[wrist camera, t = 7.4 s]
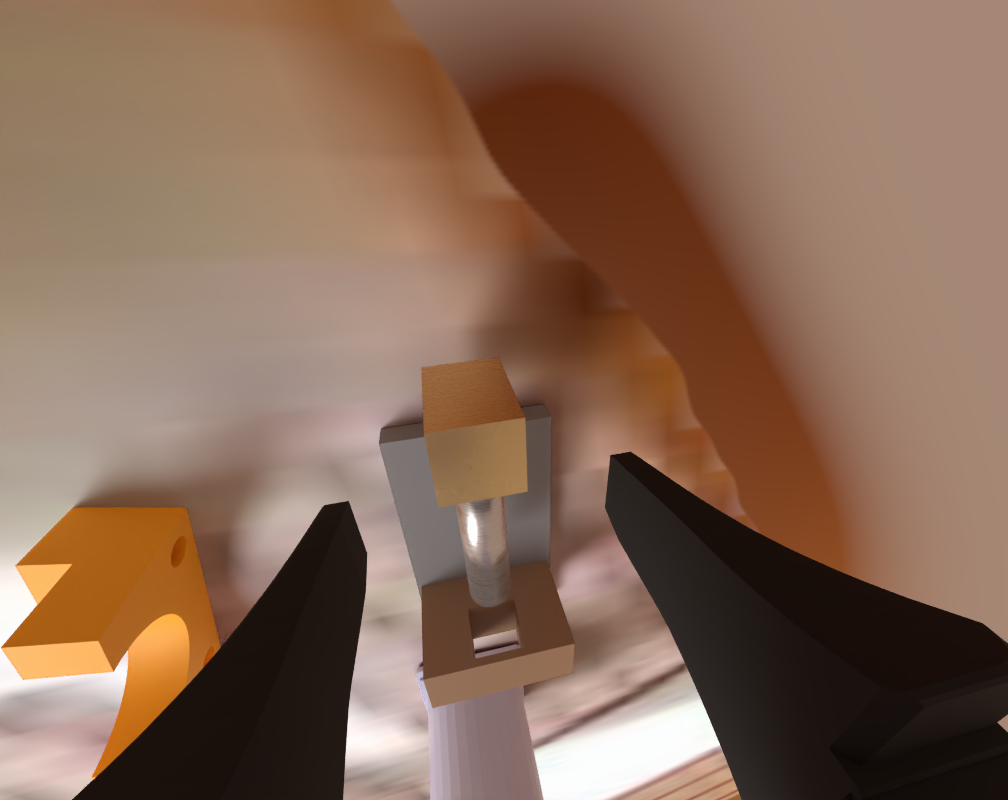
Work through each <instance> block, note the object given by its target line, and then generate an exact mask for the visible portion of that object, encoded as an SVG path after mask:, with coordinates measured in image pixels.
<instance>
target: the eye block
mask: <svg viewBox="0 0 1008 800" xmlns="http://www.w3.org/2000/svg"><path fill="white" fill-rule="evenodd" d="M521 409H522V411H523V414H524V416H525V425H526V456H527V487H528V492H523V493H517V494H512V495H506V496H504V498H505V512H506V525H507V539H508V552H509V566H510V579H511V591H510V594H509V596H508V598H507V599H506V600H505V601H504V602H503V603H501V604H500V605H497V606H494V607H484V606H481V605H479V604H477V603H476V602H475V601H474V600H473V599H472V597H471V595H470V590H469V584H468V578H467V572H466V565H465V559H464V553H463V547H462V541H461V535H460V529H459V523H458V517H457V510H456V505H451V506H446V507H440V508H438V503H437V498H436V493H435V488H434V482H433V477H432V472H431V467H430V462H429V457H428V452H427V447H426V442H425V436H424V423H417V424H410V425H404V426H397V427H391V428H384V429H381V432H380V440H379V446H380V450H381V453H382V457H383V461H384V464H385V468H386V472H387V475H388V479H389V483H390V486H391V490H392V494H393V497H394V501H395V505H396V508H397V512H398V516H399V519H400V523H401V527H402V530H403V534H404V538H405V541H406V545H407V549H408V552H409V556H410V560H411V563H412V567H413V571H414V574H415V578H416V582H417V585H418V589H419V593H420V596H421V600H422V642H423V681H424V684H425V687H426V690H427V693H428V696H429V699H430V702H431V705H432V708H436V707H440V706H444V705H448V704H452V703H456V702H460V701H464V700H468V699H472V698H476V697H480V696H484V695H488V694H492V693H496V692H500V691H504V690H508V689H512V688H516V687H520V686H524V685H528V684H532V683H536V682H540V681H544V680H548V679H551V678H555V677H559V676H563V675H567V674H571V673H573V663H574V649H575V642H574V640H573V637H572V634H571V631H570V628H569V625H568V622H567V619H566V616H565V613H564V610H563V607H562V604H561V601H560V598H559V595H558V592H557V589H556V586H555V583H554V580H553V577H552V574H551V571H550V495H551V416H550V414H549V412H548V410H547V408H546V407H545V405H544V404H542V405H535V406H529V407H522V408H521ZM514 629H516V632H517V636H518V641H519V645H520V648H518V649H514V650H510V651H505V652H501V653H497V654H493V655H488V656H484V657H480V658H476V659H475V651H474V643H473V639H475V638H479V637H484V636H488V635H493V634H497V633H501V632H506V631H510V630H514Z"/></svg>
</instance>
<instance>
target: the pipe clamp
mask: <svg viewBox="0 0 1008 800" xmlns="http://www.w3.org/2000/svg"><path fill="white" fill-rule="evenodd" d="M16 568H17V569H18V571H19V573H20V575H21V576H22V578H23V580H24V582H25V583H26V585H27V587H28V589H29V590H30V592H31V594H32V596H33V597H34V599H35V601H36V603H37V604H38V605H37V606H36V607H35V608H34V610H33V611H32V612H31V613H30V614H29V616H28V617H27V618H26V619H25V620H24V621H23V623H22V624H21V625H20V626H19V627H18V628H17V630H16V631H15V632H14V633H13V634H12V635H11V637H10V638H9V639H8V640H7V641H6V643H5V644H4V645H3V646H2V647H1V649H2V650H3V652H4V653H5V655H6V656H7V657H8V659H9V660H10V662H11V663H12V665H13V666H14V667H15V669H16V670H17V672H18V673H19V675H20V676H21V677H22V679H23V680H25V679H37V678H48V677H59V676H70V675H82V674H93V673H104V672H114V670H115V668H116V667H117V665H118V663H119V662H120V660H121V659H122V657H123V656H124V654H125V653H126V651H127V650H128V672H127V679H126V685H125V690H124V695H123V699H122V703H121V706H120V710H119V713H118V716H117V719H116V722H115V725H114V728H113V731H112V733H111V736H110V738H109V741H108V743H107V746H106V748H105V750H104V753H103V755H102V757H101V759H100V761H99V764H98V766H97V768H96V770H95V772H94V774H93V776H92V779H93V780H94V779H95V778H96V777H97V776H98V775H99V774H100V773H101V772H102V771H103V770H104V769H105V768H106V767H107V766H108V765H109V764H110V763H111V762H112V761H113V760H114V759H116V758H117V757H118V756H119V755H120V754H121V753H122V752H123V751H124V750H125V749H126V748H127V747H128V746H129V745H130V744H131V743H132V742H133V741H134V740H135V739H136V738H137V737H138V736H139V735H140V734H141V733H142V732H143V731H144V730H145V729H146V728H147V727H148V726H149V725H150V724H151V723H152V722H153V721H154V720H155V719H156V718H157V716H158V715H159V714H160V713H161V712H162V711H163V710H164V709H165V708H166V707H167V706H168V705H169V704H170V703H171V702H172V701H173V700H174V699H175V698H176V697H177V696H178V695H179V693H180V692H181V691H182V690H183V689H184V688H185V687H186V686H187V685H188V684H189V683H190V682H191V681H192V679H193V678H194V677H195V676H196V675H197V674H198V673H199V672H200V671H201V670H202V668H203V667H204V666H205V665H206V664H207V663H208V662H209V660H210V659H211V658H212V657H213V656H214V655H215V653H216V652H217V651H218V650H219V649H220V648H221V645H220V641H219V637H218V633H217V629H216V625H215V621H214V617H213V613H212V609H211V605H210V600H209V596H208V592H207V588H206V584H205V580H204V576H203V572H202V568H201V564H200V560H199V556H198V552H197V548H196V544H195V540H194V536H193V532H192V528H191V524H190V520H189V516H188V512H187V508H186V507H73V508H72V509H71V510H70V511H69V512H68V513H67V514H66V515H65V516H64V517H63V518H62V519H61V520H60V521H59V522H58V523H57V524H56V525H55V526H54V527H53V528H52V529H51V530H50V531H49V532H48V533H47V534H46V535H45V536H44V537H43V538H42V539H41V540H40V541H39V542H38V543H37V544H36V545H35V546H34V547H33V548H32V549H31V550H30V551H29V552H28V553H27V555H26V556H25V557H24V558H23V559H22V560H21V561H20V562H19V563H18V564H17V565H16Z"/></svg>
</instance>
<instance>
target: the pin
mask: <svg viewBox="0 0 1008 800" xmlns="http://www.w3.org/2000/svg"><path fill="white" fill-rule="evenodd" d="M421 372H422V398H423V423H424V436H425V442H426V447H427V452H428V457H429V462H430V467H431V472H432V477H433V482H434V488H435V493H436V498H437V503H438V508H440V507H446V506H451V505H456V510H457V517H458V523H459V529H460V535H461V541H462V547H463V553H464V559H465V565H466V572H467V578H468V584H469V590H470V595H471V597H472V599H473V600H474V601H475V602H476V603H477V604H479V605H481V606H484V607H494V606H497V605H500V604H501V603H503V602H504V601H505V600H506V599H507V598H508V596H509V594H510V591H511V579H510V566H509V552H508V539H507V525H506V512H505V498H504V496H506V495H512V494H517V493H523V492H528V487H527V456H526V425H525V416H524V414H523V411H522V409H521V407H520V405H519V402H518V400H517V398H516V396H515V393H514V391H513V389H512V387H511V384H510V382H509V380H508V378H507V375H506V373H505V371H504V368H503V366H502V364H501V362H500V359H499V357H497V358H490V359H482V360H475V361H467V362H460V363H452V364H445V365H437V366H430V367H422V368H421Z"/></svg>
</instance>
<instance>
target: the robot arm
mask: <svg viewBox="0 0 1008 800" xmlns="http://www.w3.org/2000/svg"><path fill="white" fill-rule="evenodd" d="M605 508H606V511H607V513H608V516H609V518H610V521H611V523H612V525H613V528H614V530H615V532H616V535H617V537H618V539H619V541H620V543H621V545H622V546H623V548H624V550H625V552H626V553H627V555H628V557H629V559H630V561H631V562H632V564H633V566H634V567H635V569H636V571H637V573H638V574H639V576H640V578H641V580H642V581H643V583H644V585H645V586H646V588H647V590H648V592H649V593H650V595H651V597H652V598H653V600H654V602H655V604H656V605H657V607H658V609H659V611H660V612H661V614H662V616H663V618H664V620H665V622H666V624H667V625H668V627H669V629H670V631H671V634H672V636H673V638H674V640H675V642H676V644H677V646H678V649H679V651H680V653H681V655H682V657H683V659H684V662H685V664H686V666H687V668H688V670H689V673H690V675H691V677H692V679H693V682H694V684H695V686H696V689H697V691H698V693H699V695H700V698H701V700H702V702H703V705H704V707H705V709H706V712H707V714H708V716H709V719H710V721H711V724H712V726H713V728H714V731H715V733H716V736H717V738H718V741H719V743H720V745H721V748H722V750H723V753H724V755H725V758H726V760H727V763H728V765H729V768H730V770H731V773H732V776H733V778H734V781H735V783H736V786H737V789H738V791H739V794H740V796H741V799H742V800H1008V732H1007V731H1006V730H1005V729H1003V728H1002V727H1001V726H1000V725H999V724H998V723H997V722H998V721H999V720H1001V719H1002V718H1003V717H1005V716H1006V715H1007V714H1008V643H1007V642H1005V641H1004V640H1003V639H1001V638H1000V637H999V636H998V635H997V634H995V633H994V632H993V631H992V630H990V629H989V628H988V627H987V626H985V625H984V624H983V623H980V622H977V621H974V620H971V619H968V618H965V617H962V616H959V615H956V614H953V613H950V612H947V611H944V610H942V609H939V608H936V607H932V606H929V605H926V604H924V603H921V602H918V601H915V600H912V599H909V598H906V597H903V596H901V595H898V594H895V593H893V592H890V591H888V590H885V589H882V588H880V587H877V586H874V585H872V584H869V583H867V582H864V581H861V580H859V579H857V578H854V577H852V576H849V575H847V574H845V573H842V572H840V571H837V570H835V569H833V568H831V567H828V566H826V565H824V564H822V563H819V562H817V561H815V560H812V559H810V558H808V557H806V556H803V555H802V554H799V553H797V552H795V551H793V550H791V549H789V548H787V547H785V546H783V545H781V544H779V543H777V542H775V541H773V540H771V539H769V538H767V537H765V536H763V535H762V534H760V533H758V532H756V531H754V530H752V529H750V528H748V527H747V526H745V525H743V524H741V523H739V522H738V521H736V520H734V519H733V518H731V517H729V516H728V515H726V514H724V513H722V512H721V511H719V510H717V509H716V508H714V507H713V506H711V505H709V504H708V503H706V502H705V501H703V500H701V499H700V498H698V497H697V496H695V495H694V494H692V493H691V492H689V491H688V490H686V489H685V488H683V487H682V486H680V485H679V484H677V483H676V482H674V481H673V480H671V479H670V478H668V477H667V476H665V475H664V474H663V473H661V472H660V471H658V470H657V469H655V468H654V467H652V466H651V465H650V464H648V463H647V462H645V461H644V460H642V459H641V458H639V457H638V456H636V455H635V454H633V453H632V452H626V453H621V454H615V455H610V465H609V474H608V484H607V493H606V503H605ZM366 574H367V552H366V549H365V546H364V543H363V540H362V537H361V535H360V532H359V529H358V526H357V523H356V520H355V518H354V515H353V512H352V509H351V506H350V503H349V501H346V502H340V503H335V504H329V505H324V506H323V508H322V509H321V510H320V512H319V513H318V515H317V516H316V518H315V519H314V521H313V522H312V524H311V525H310V527H309V528H308V530H307V532H306V533H305V535H304V536H303V538H302V539H301V541H300V542H299V544H298V545H297V547H296V548H295V550H294V551H293V553H292V554H291V556H290V557H289V558H288V560H287V561H286V563H285V564H284V566H283V567H282V568H281V570H280V571H279V573H278V574H277V576H276V577H275V578H274V580H273V581H272V583H271V584H270V585H269V587H268V588H267V589H266V591H265V592H264V593H263V595H262V596H261V597H260V599H259V600H258V601H257V603H256V604H255V605H254V606H253V608H252V609H251V610H250V612H249V613H248V614H247V616H246V617H245V618H244V620H243V621H242V622H241V623H240V625H239V626H238V627H237V628H236V630H235V631H234V632H233V633H232V634H231V636H230V637H229V638H228V639H227V640H226V642H225V643H224V644H223V645H222V646H221V648H220V649H219V650H218V651H217V652H216V653H215V655H214V656H213V657H212V658H211V659H210V660H209V662H208V663H207V664H206V665H205V666H204V667H203V668H202V670H201V671H200V672H199V673H198V674H197V675H196V676H195V677H194V678H193V679H192V681H191V682H190V683H189V684H188V685H187V686H186V687H185V688H184V689H183V690H182V691H181V692H180V693H179V695H178V696H177V697H176V698H175V699H174V700H173V701H172V702H171V703H170V704H169V705H168V706H167V707H166V708H165V709H164V710H163V711H162V712H161V713H160V714H159V715H158V716H157V718H156V719H155V720H154V721H153V722H152V723H151V724H150V725H149V726H148V727H147V728H146V729H145V730H144V731H143V732H142V733H141V734H140V735H139V736H138V737H137V738H136V739H135V740H134V741H133V742H132V743H131V744H130V745H129V746H128V747H127V748H126V749H125V750H124V751H123V752H122V753H121V754H120V755H119V756H118V757H117V758H116V759H114V760H113V761H112V762H111V763H110V764H109V765H108V766H107V767H106V768H105V769H104V770H103V771H102V772H101V773H100V774H99V775H98V776H97V777H96V778H95V779H94V780H92V781H91V782H90V783H89V784H88V785H87V786H86V787H85V788H84V789H83V790H82V791H81V792H80V793H79V794H78V795H77V796H75V797H74V798H73V799H72V800H343V790H344V771H345V753H346V738H347V723H348V708H349V700H350V691H351V683H352V677H353V671H354V664H355V658H356V652H357V645H358V639H359V633H360V626H361V620H362V613H363V607H364V600H365V593H366ZM518 648H520V646H519V645H511V646H506V647H502V648H498V649H494V650H489V651H485V652H481V653H477V654H475V659H476V658H480V657H484V656H488V655H493V654H497V653H501V652H505V651H510V650H514V649H518ZM415 677H416V680H417V683H418V686H419V689H420V691H421V694H422V697H423V700H424V703H425V706H426V709H427V712H428V723H429V760H430V797H431V800H544V799H543V795H542V790H541V785H540V780H539V775H538V770H537V765H536V760H535V756H534V751H533V746H532V741H531V736H530V731H529V726H528V721H527V717H526V712H525V707H524V686H520V687H516V688H512V689H508V690H504V691H500V692H496V693H492V694H488V695H484V696H480V697H476V698H472V699H468V700H464V701H460V702H456V703H452V704H448V705H444V706H440V707H436V708H432V705H431V702H430V699H429V696H428V693H427V690H426V687H425V684H424V681H423V666H422V667H419V668H417V669H416V670H415Z"/></svg>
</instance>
